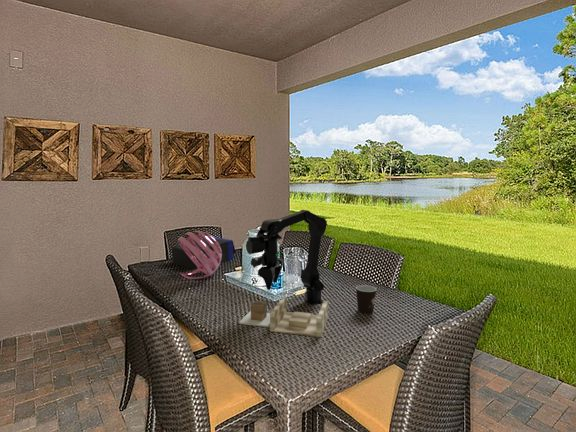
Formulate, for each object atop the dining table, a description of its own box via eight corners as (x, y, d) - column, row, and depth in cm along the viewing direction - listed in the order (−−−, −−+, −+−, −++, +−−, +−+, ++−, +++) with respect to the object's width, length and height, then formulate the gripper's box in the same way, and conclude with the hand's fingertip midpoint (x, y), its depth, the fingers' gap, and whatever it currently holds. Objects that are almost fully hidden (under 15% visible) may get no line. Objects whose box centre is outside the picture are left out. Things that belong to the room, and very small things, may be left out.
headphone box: (236, 259, 242) (236, 239, 241) (194, 269, 216) (193, 247, 214) (214, 254, 258) (214, 235, 256) (172, 263, 231) (171, 242, 230)
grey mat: (250, 312, 148) (250, 310, 148) (277, 315, 145) (277, 313, 145) (239, 323, 136) (239, 322, 136) (268, 327, 133) (268, 325, 133)
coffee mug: (364, 316, 143) (364, 293, 142) (351, 309, 151) (351, 287, 150) (385, 311, 149) (386, 288, 148) (371, 304, 156) (372, 283, 155)
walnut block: (255, 314, 143) (255, 300, 143) (266, 316, 142) (266, 302, 141) (250, 319, 139) (250, 305, 138) (262, 321, 137) (262, 306, 137)
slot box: (283, 312, 147) (283, 297, 146) (328, 317, 142) (328, 301, 141) (270, 331, 130) (270, 313, 129) (320, 337, 125) (320, 318, 124)
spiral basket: (162, 250, 179) (203, 218, 190) (160, 252, 205) (196, 224, 215) (197, 291, 183) (235, 257, 194) (190, 288, 209) (224, 258, 219)
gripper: (259, 245, 156) (261, 278, 158) (244, 255, 138) (246, 292, 140) (283, 245, 153) (284, 279, 155) (271, 256, 135) (272, 294, 137)
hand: (272, 286), depth 147 cm, fingers open, 9 cm apart
